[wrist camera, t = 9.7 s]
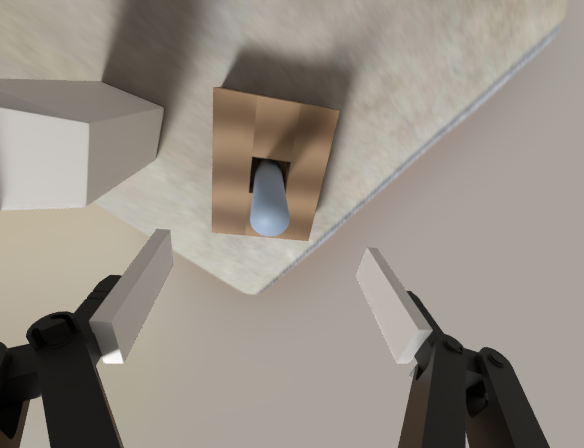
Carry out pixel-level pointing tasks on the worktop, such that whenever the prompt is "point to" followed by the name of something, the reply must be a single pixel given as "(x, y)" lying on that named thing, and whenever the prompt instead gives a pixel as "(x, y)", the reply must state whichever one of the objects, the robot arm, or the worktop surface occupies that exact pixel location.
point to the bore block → (267, 157)
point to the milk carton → (70, 141)
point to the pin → (269, 199)
